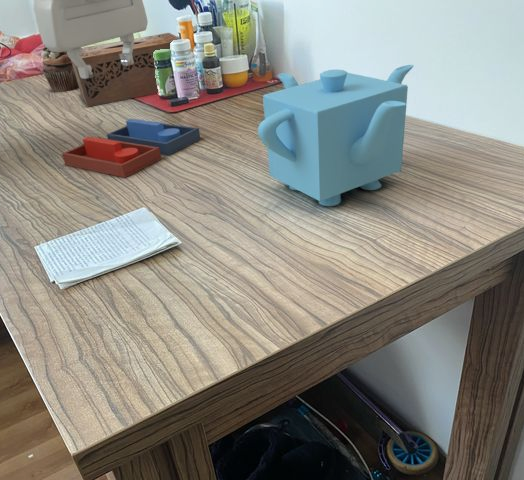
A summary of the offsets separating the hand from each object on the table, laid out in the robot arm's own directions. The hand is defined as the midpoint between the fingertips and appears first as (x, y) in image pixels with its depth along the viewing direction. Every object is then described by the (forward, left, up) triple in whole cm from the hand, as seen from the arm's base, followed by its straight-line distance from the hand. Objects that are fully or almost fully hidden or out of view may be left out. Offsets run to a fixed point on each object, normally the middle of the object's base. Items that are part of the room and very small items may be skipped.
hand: (108, 71), depth 89 cm
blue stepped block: (+5, +2, -12) cm, 13 cm away
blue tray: (+5, +2, -12) cm, 14 cm away
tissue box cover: (-29, +30, -13) cm, 44 cm away
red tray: (+5, -8, -12) cm, 16 cm away
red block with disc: (+5, -8, -12) cm, 15 cm away
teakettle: (+47, -2, -13) cm, 48 cm away
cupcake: (-53, +27, -13) cm, 61 cm away
